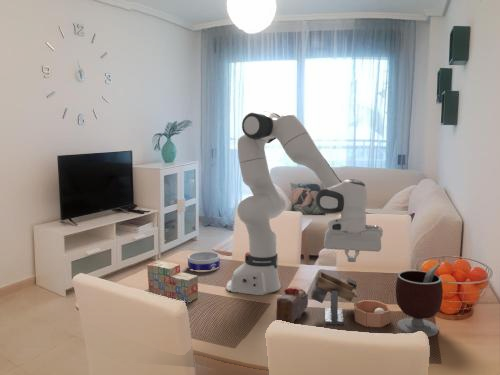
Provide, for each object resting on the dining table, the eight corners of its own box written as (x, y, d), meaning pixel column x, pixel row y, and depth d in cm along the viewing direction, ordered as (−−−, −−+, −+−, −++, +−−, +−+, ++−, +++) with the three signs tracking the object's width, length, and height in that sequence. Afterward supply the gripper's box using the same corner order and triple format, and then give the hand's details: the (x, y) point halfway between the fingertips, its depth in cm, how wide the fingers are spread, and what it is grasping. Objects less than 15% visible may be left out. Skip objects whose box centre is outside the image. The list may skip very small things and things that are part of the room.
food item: (288, 306, 155) (288, 280, 154) (309, 310, 151) (309, 283, 150) (274, 321, 143) (273, 293, 141) (296, 325, 139) (296, 297, 138)
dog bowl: (206, 275, 192) (206, 262, 191) (181, 269, 201) (180, 257, 200) (226, 266, 205) (226, 254, 204) (201, 261, 213) (201, 249, 212)
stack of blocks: (198, 298, 164) (197, 268, 163) (187, 304, 159) (186, 272, 158) (159, 288, 176) (158, 259, 174) (148, 293, 171) (146, 263, 169)
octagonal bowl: (355, 325, 138) (356, 312, 137) (353, 311, 149) (353, 299, 148) (391, 327, 136) (391, 314, 136) (386, 313, 147) (386, 301, 147)
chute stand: (325, 324, 140) (325, 291, 138) (325, 310, 151) (325, 279, 149) (343, 325, 139) (344, 291, 137) (342, 311, 150) (342, 280, 148)
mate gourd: (417, 341, 127) (419, 277, 124) (385, 323, 139) (386, 264, 137) (454, 331, 133) (457, 270, 131) (421, 314, 146) (422, 258, 143)
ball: (383, 322, 140) (373, 318, 141) (382, 317, 144) (372, 314, 144) (387, 312, 140) (376, 309, 140) (385, 308, 143) (375, 304, 144)
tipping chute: (308, 298, 142) (319, 276, 140) (310, 280, 159) (319, 261, 158) (351, 318, 140) (362, 297, 139) (348, 297, 158) (357, 278, 156)
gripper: (381, 223, 153) (379, 260, 155) (324, 221, 157) (323, 257, 159) (384, 227, 147) (382, 266, 149) (324, 225, 151) (323, 262, 153)
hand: (351, 261), depth 154 cm, fingers closed
